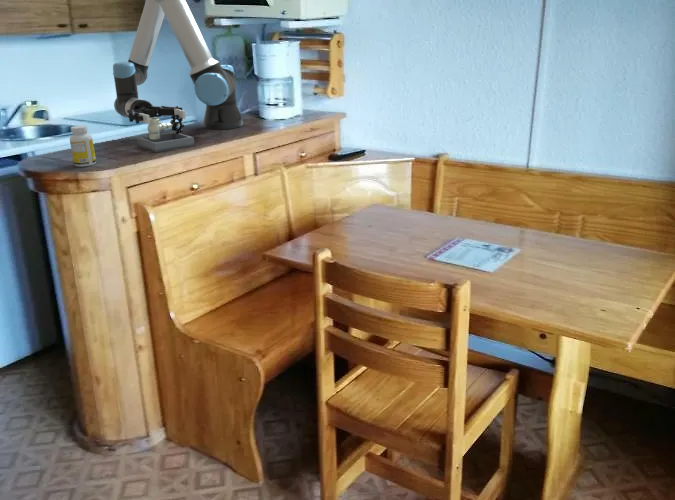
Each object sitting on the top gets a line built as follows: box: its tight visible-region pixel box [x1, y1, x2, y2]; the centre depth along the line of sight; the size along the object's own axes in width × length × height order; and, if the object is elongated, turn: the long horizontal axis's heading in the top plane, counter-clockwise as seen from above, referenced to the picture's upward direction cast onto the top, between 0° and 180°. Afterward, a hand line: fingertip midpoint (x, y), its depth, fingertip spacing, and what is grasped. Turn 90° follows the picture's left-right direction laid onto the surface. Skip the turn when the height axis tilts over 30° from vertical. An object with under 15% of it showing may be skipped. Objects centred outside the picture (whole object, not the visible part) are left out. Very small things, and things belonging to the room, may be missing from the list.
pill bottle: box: [69, 125, 97, 168], centre depth 200 cm, size 6×6×12 cm
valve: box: [147, 114, 185, 140], centre depth 220 cm, size 7×7×12 cm
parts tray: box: [137, 131, 195, 154], centre depth 224 cm, size 14×14×3 cm
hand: (166, 117), depth 218 cm, fingers closed on valve, 12 cm apart
